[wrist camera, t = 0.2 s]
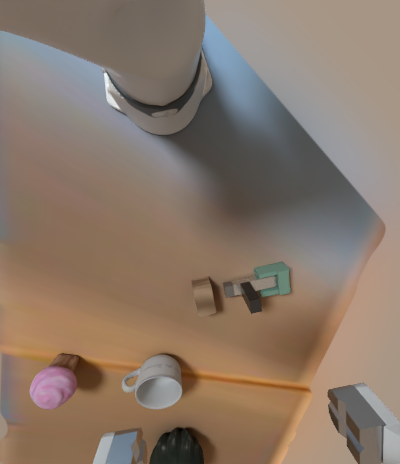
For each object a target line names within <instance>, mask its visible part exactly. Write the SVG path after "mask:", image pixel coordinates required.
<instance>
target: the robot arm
mask: <svg viewBox="0 0 400 464" xmlns="http://www.w3.org/2000/svg"><path fill="white" fill-rule="evenodd" d="M0 30H1V31H5V32H9V33H12V34H15V35H19V36H22V37H25V38H29V39H32V40H35V41H37V42H40V43H43V44H45V45H48V46H51V47H53V48H56V49H59V50H62V51H64V52H67V53H69V54H72V55H74V56H77V57H79V58H82V59H84V60H86V61H89V62H91V63H94V64H96V65H98V66H101V68H102V71H103V73H104V78H105V87H106V97H107V101H108V103H109V105H110V106H111V107H113V108H114V109H116V110H118V111H120V112H123V113H125V114H126V115H127V116H128V117H129V118H130V119H131V120H132V121H133V122H134V123H135V124H136V125H137V126H139V127H140V128H142V129H143V130H145V131H147V132H149V133H152V134H157V135H169V134H173V133H176V132H178V131H180V130H182V129H183V128H185V127H186V126H187V125H188V124H189V123H190V122H191V120H192V119H193V118H194V116H195V114H196V112H197V109H198V107H199V104H200V102H201V100H202V98H203V97H204V96H205V95H206V94H207V93H208V92H209V91H210V89H211V87H212V78H211V75H210V72H209V69H208V66H207V63H206V60H205V57H204V53H203V50H202V42H203V37H204V32H205V5H204V0H0ZM328 397H329V399H330V400H331V402H330V403H329V405H328V407H329V413H330V416H331V419H332V421H333V423H334V425H335V427H336V429H337V431H338V432H339V433H340V434H341V435H343V436H344V437H345V438H347V447H348V448H349V450H350V452H351V453H352V455H353V456H354V458H355V460H356V461H357V462H358V464H381V463H383V464H400V421H399V420H398V419H397V418H396V416H395V415H394V414H393V413H392V412H391V411H390V410H389V409H388V408H387V407H386V406H385V404H384V403H383V402H382V401H381V400H380V399H379V398H378V397H377V396H376V395H375V394H374V392H373V391H372V390H371V389H370V388H369V387H368V386H367V385H366V384H364V383H360V384H354V385H348V386H343V387H339V388H334V389H329V390H328ZM142 436H143V432H142V429H141V427H139V428H133V429H128V430H122V431H115V432H110V433H105V434H104V435H103V437H102V438H101V441H100V444H99V447H98V450H97V453H96V456H95V458H94V461H93V464H147V445H146V442H145V441H144V440H143V439H142Z"/></svg>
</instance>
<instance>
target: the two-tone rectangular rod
mask: <svg viewBox="0 0 400 464" xmlns="http://www.w3.org/2000/svg"><path fill="white" fill-rule="evenodd" d="M223 286H224V292H225V295H226V298H227V297H232V296H236V295H240V294H242V296H243V298H244V300H245V302H246V304H247V306H248V308H249V310H250V312H251V314H252V313H256V312H261V311H262V308H261V300H260V297H259V296H258V294H257V293H256V291H258V290H263V289H267V288H271V287H276V286H278V278H277V275H274V276H270V277H265V278H261V279H259V277H258V276H253V277H248V278H244V279H239V280H235V281H230V282H226V283H223Z"/></svg>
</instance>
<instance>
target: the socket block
mask: <svg viewBox="0 0 400 464" xmlns="http://www.w3.org/2000/svg"><path fill="white" fill-rule="evenodd" d="M192 286H193V292H194V297H195V301H196V306H197V310H198V314H199V317H202V316H206V315H211V314H215V313H216V308H215V303H214V298H213V293H212V287H211V284H210V280H209V277H208V276H207V277H203V278H198V279H194V280H192Z"/></svg>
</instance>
